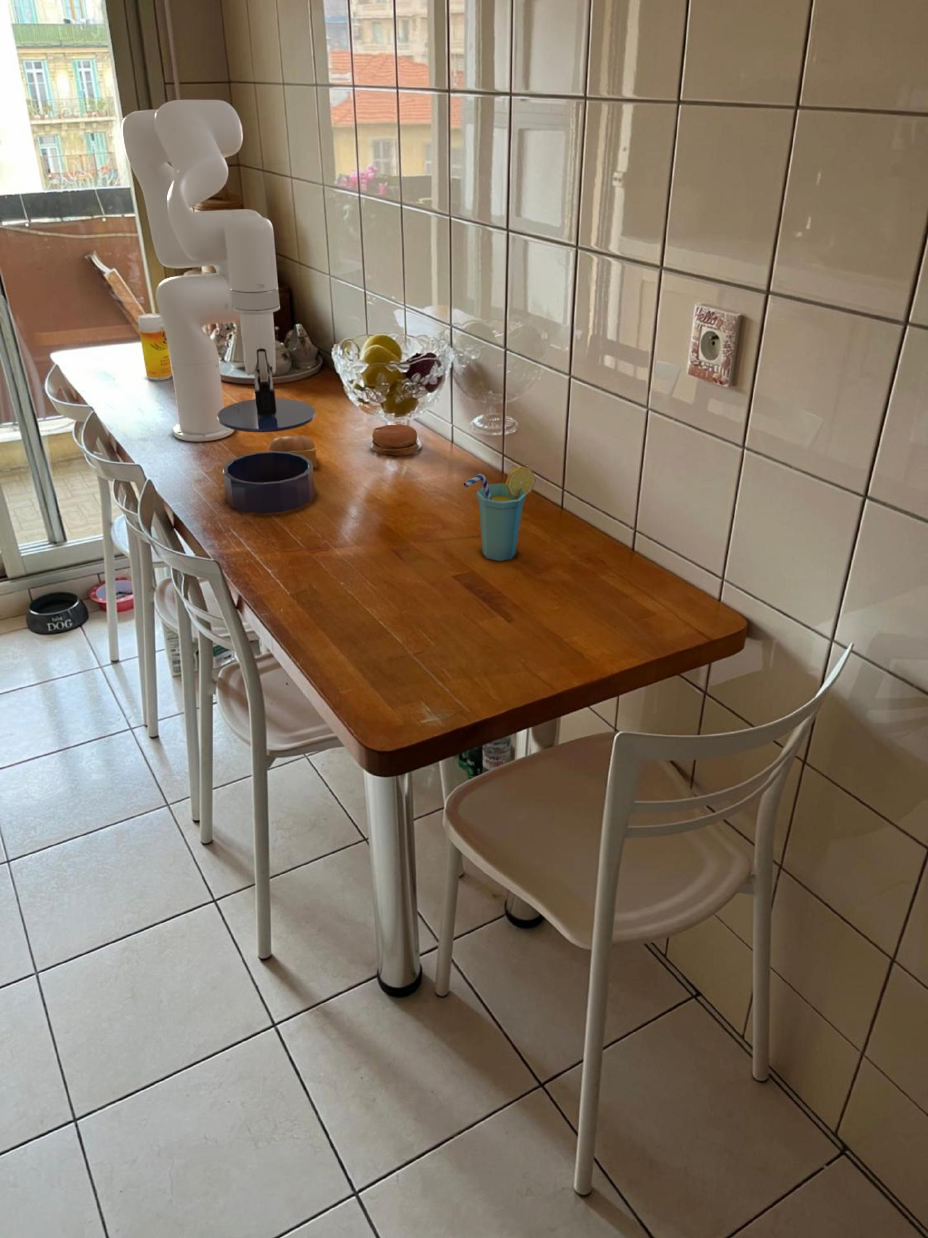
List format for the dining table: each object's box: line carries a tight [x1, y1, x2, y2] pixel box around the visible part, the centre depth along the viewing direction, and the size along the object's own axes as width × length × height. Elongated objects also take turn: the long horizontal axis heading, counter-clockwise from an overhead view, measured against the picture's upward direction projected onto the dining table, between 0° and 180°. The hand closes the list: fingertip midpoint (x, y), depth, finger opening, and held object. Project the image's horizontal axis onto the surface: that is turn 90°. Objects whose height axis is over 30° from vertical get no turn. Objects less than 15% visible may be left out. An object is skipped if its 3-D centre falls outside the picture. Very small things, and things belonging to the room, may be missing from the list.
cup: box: [463, 465, 536, 562], centre depth 145 cm, size 14×8×15 cm, turn 133°
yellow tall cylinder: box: [137, 312, 172, 381], centre depth 225 cm, size 6×6×15 cm
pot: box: [222, 451, 316, 514], centre depth 165 cm, size 16×16×6 cm
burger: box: [371, 423, 419, 456], centre depth 187 cm, size 10×9×5 cm
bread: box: [268, 435, 318, 469], centre depth 178 cm, size 9×6×6 cm, turn 103°
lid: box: [217, 377, 317, 433], centre depth 157 cm, size 17×17×7 cm
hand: (266, 409), depth 158 cm, fingers closed on lid, 3 cm apart
